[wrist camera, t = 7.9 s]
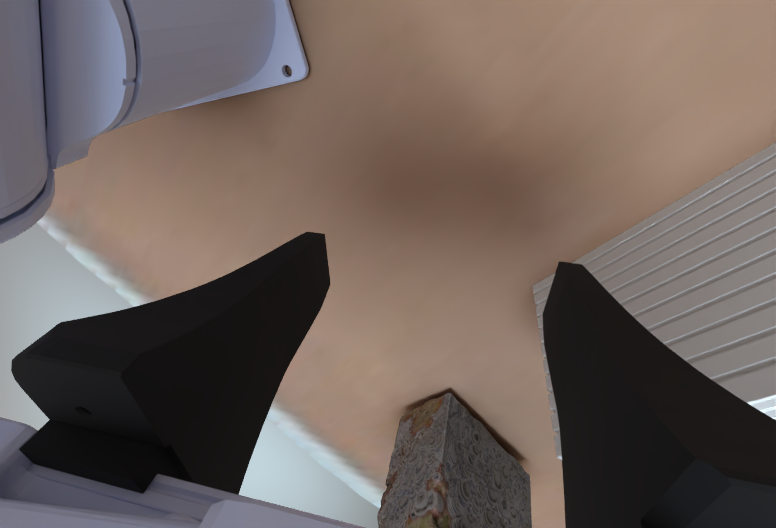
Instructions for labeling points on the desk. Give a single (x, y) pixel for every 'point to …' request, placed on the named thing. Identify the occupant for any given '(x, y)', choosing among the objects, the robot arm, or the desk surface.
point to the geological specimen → (452, 474)
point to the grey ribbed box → (701, 280)
